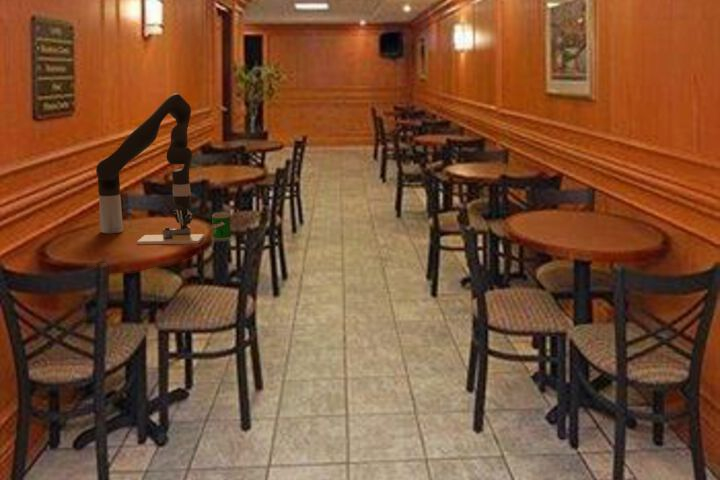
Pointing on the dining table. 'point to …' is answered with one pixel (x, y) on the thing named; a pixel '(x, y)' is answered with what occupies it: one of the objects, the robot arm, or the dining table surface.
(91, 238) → the dining table surface
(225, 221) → the soda can
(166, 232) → the latch bar
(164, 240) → the lock board
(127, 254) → the dining table surface
